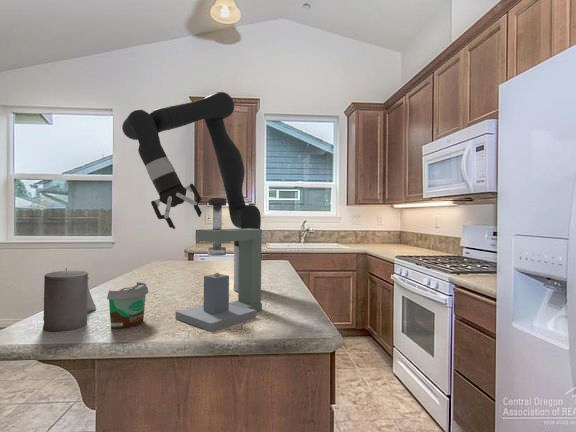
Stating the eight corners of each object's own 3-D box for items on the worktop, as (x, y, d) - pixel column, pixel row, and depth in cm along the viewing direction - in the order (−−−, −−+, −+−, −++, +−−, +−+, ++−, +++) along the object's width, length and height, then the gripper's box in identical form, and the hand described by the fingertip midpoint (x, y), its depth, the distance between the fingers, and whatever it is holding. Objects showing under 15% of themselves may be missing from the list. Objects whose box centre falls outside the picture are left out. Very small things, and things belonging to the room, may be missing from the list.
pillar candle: (33, 330, 84) (34, 270, 84) (64, 318, 94) (65, 264, 94) (67, 333, 83) (68, 272, 83) (96, 321, 92) (97, 266, 92)
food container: (128, 333, 83) (128, 292, 83) (106, 331, 84) (107, 291, 84) (157, 318, 95) (157, 282, 95) (138, 316, 96) (138, 281, 96)
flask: (65, 310, 102) (65, 277, 102) (91, 305, 107) (92, 274, 107) (72, 315, 97) (72, 280, 97) (100, 310, 102) (100, 277, 102)
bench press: (237, 302, 113) (237, 228, 113) (272, 311, 102) (273, 229, 102) (175, 318, 95) (176, 229, 95) (210, 331, 85) (211, 232, 85)
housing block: (217, 307, 99) (217, 270, 99) (228, 310, 96) (229, 272, 96) (203, 311, 96) (203, 273, 96) (214, 314, 92) (215, 275, 92)
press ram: (218, 253, 99) (218, 199, 99) (229, 254, 96) (230, 198, 96) (204, 254, 96) (204, 198, 96) (215, 256, 92) (215, 197, 92)
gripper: (184, 167, 109) (207, 212, 111) (141, 185, 105) (166, 232, 107) (185, 164, 102) (209, 212, 104) (139, 183, 98) (165, 233, 100)
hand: (187, 222), depth 106 cm, fingers open, 8 cm apart
